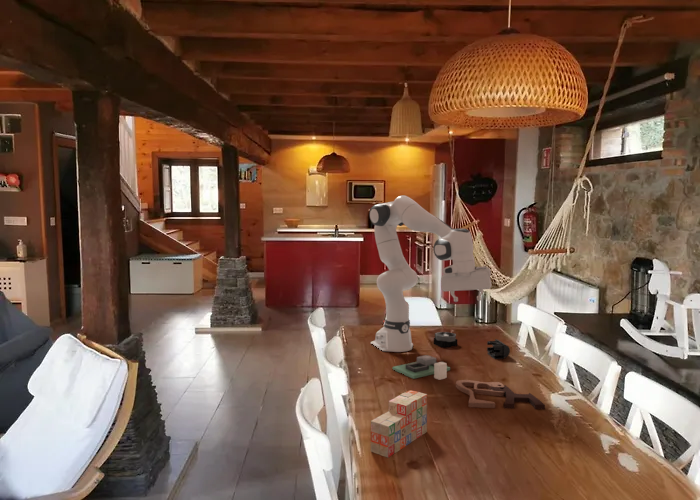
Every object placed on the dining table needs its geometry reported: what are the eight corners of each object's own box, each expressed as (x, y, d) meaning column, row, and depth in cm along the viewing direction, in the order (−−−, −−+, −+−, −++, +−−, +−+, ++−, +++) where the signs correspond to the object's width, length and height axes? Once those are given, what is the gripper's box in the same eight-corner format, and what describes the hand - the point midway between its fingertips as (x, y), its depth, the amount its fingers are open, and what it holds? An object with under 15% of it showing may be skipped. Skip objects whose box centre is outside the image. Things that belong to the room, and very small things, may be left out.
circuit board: (392, 369, 220) (392, 360, 219) (428, 361, 230) (428, 353, 230) (413, 378, 208) (413, 369, 207) (450, 370, 218) (450, 361, 218)
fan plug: (434, 377, 209) (434, 363, 209) (442, 375, 212) (442, 361, 211) (439, 379, 207) (439, 365, 206) (447, 377, 209) (447, 363, 209)
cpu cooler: (460, 335, 255) (442, 337, 251) (460, 346, 256) (442, 348, 252) (448, 330, 265) (431, 332, 261) (448, 341, 265) (431, 343, 261)
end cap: (510, 359, 234) (510, 344, 234) (495, 359, 233) (495, 345, 233) (501, 352, 244) (501, 338, 243) (486, 353, 243) (486, 339, 243)
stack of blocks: (388, 458, 143) (388, 415, 142) (370, 452, 147) (370, 410, 146) (427, 432, 159) (427, 393, 158) (409, 426, 163) (410, 389, 162)
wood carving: (545, 410, 176) (528, 386, 200) (545, 404, 176) (528, 381, 199) (461, 408, 179) (454, 384, 202) (462, 402, 179) (455, 379, 202)
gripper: (491, 265, 210) (494, 298, 211) (441, 268, 218) (444, 300, 218) (489, 266, 204) (492, 301, 205) (438, 270, 212) (441, 303, 213)
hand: (467, 301), depth 212 cm, fingers open, 8 cm apart
